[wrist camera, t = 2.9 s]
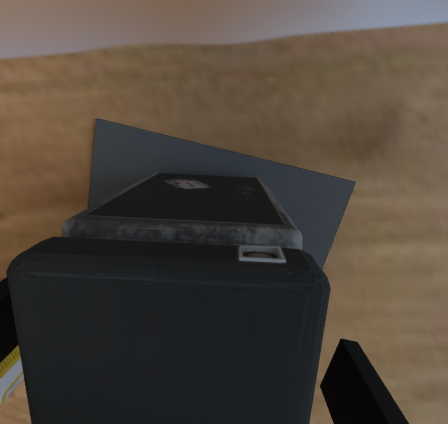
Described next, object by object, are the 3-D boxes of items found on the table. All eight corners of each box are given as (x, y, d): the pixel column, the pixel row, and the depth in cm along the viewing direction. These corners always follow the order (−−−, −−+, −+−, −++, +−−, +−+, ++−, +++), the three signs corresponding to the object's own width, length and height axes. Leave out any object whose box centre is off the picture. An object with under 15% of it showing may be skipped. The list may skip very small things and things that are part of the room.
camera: (148, 288, 23) (17, 541, 9) (143, 168, 20) (-69, 255, 6) (266, 294, 23) (326, 559, 9) (278, 175, 20) (403, 279, 6)
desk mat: (354, 181, 20) (356, 182, 20) (262, 419, 28) (263, 422, 28) (97, 118, 20) (95, 118, 19) (73, 382, 27) (71, 384, 27)
